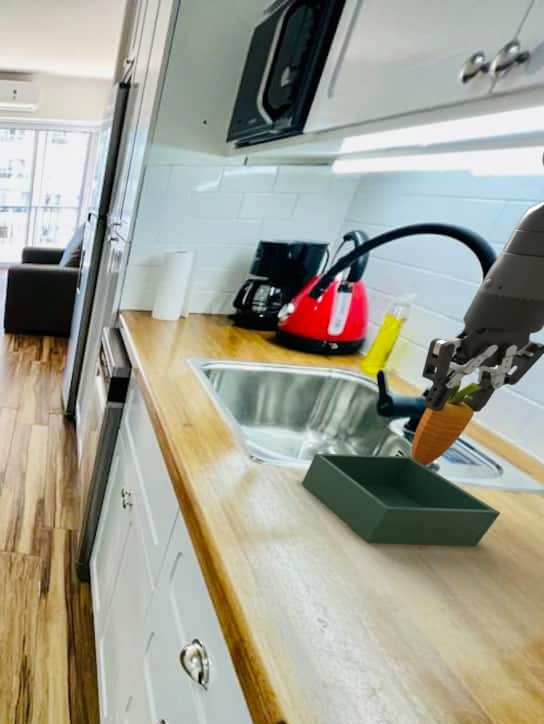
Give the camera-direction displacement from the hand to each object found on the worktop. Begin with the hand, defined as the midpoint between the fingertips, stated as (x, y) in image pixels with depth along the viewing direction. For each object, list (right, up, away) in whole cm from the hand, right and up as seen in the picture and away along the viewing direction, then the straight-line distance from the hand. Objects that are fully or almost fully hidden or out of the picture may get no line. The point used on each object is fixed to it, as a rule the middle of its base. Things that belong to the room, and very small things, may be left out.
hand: (451, 408), depth 71 cm
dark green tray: (-12, -15, -1) cm, 19 cm away
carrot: (0, -9, +5) cm, 11 cm away
